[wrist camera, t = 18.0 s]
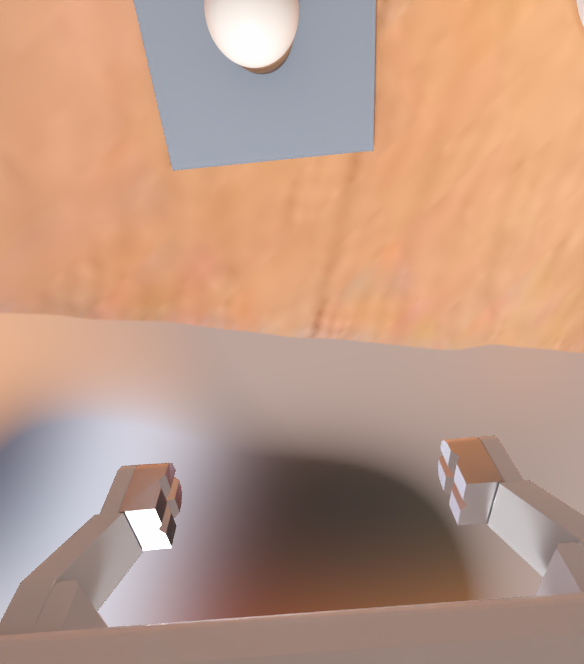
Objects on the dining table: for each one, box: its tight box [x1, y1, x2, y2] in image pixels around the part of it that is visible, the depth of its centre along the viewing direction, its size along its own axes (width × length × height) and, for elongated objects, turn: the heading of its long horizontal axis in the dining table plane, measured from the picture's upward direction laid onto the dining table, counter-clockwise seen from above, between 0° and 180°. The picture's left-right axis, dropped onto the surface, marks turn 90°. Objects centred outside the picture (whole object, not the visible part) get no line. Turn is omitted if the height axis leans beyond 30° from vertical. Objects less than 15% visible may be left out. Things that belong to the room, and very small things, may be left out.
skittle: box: [204, 0, 299, 74], centre depth 25 cm, size 5×5×14 cm
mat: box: [134, 0, 376, 170], centre depth 31 cm, size 18×22×1 cm
